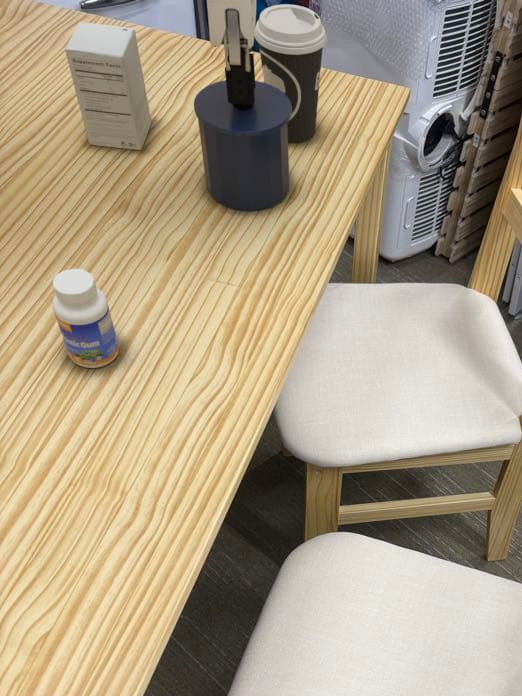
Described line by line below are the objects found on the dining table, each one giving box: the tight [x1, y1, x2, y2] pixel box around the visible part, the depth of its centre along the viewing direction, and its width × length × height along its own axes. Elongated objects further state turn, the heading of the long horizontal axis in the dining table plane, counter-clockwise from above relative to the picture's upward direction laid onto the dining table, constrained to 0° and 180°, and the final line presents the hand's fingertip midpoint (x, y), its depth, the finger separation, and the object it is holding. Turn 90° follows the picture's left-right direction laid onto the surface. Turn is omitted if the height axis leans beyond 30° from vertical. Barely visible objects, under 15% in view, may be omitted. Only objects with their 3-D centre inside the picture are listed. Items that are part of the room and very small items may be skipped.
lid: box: [193, 53, 292, 136], centre depth 95 cm, size 12×12×7 cm
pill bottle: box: [52, 268, 120, 369], centre depth 83 cm, size 5×5×10 cm
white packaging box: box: [64, 21, 153, 151], centre depth 104 cm, size 7×7×13 cm
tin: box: [197, 118, 290, 212], centre depth 101 cm, size 11×11×10 cm
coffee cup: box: [254, 3, 328, 144], centre depth 108 cm, size 10×10×15 cm
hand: (241, 94), depth 95 cm, fingers closed on lid, 2 cm apart
